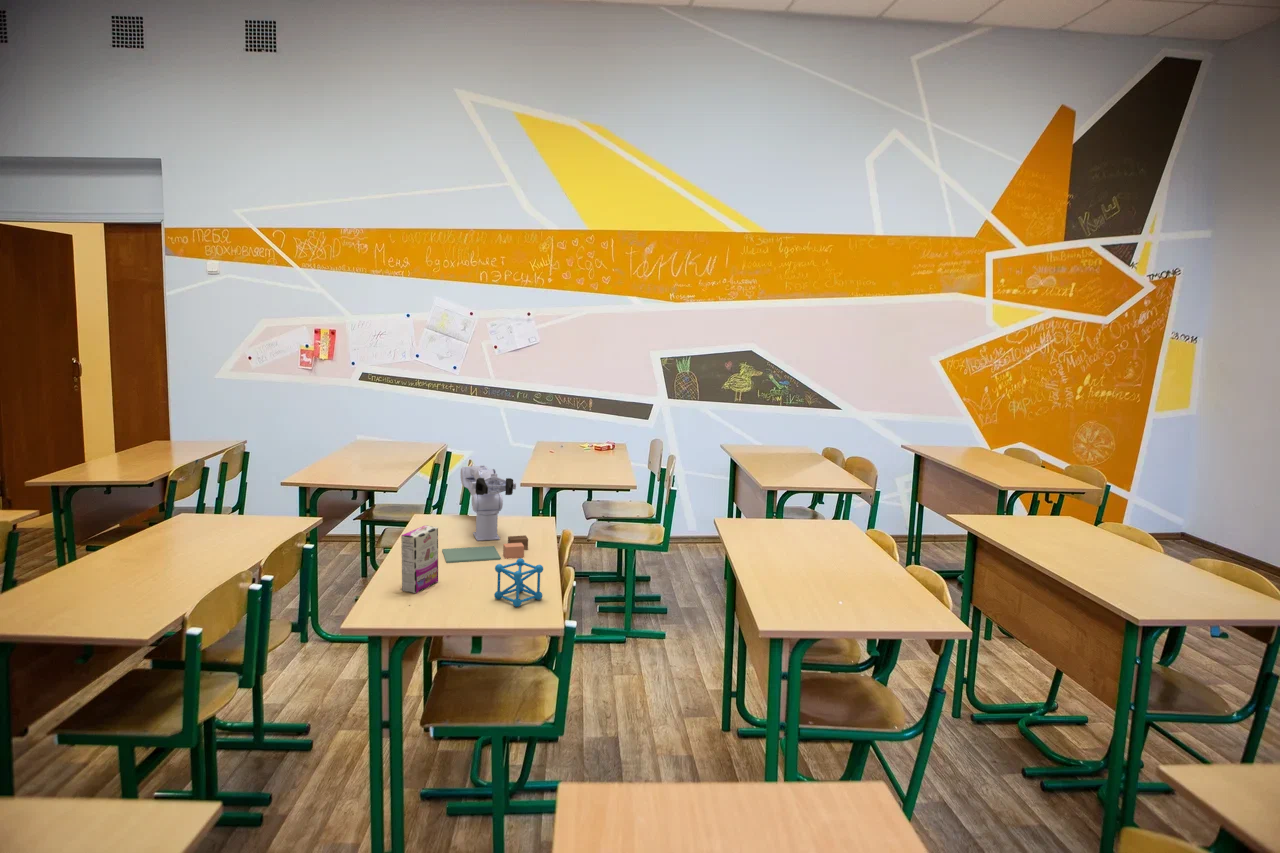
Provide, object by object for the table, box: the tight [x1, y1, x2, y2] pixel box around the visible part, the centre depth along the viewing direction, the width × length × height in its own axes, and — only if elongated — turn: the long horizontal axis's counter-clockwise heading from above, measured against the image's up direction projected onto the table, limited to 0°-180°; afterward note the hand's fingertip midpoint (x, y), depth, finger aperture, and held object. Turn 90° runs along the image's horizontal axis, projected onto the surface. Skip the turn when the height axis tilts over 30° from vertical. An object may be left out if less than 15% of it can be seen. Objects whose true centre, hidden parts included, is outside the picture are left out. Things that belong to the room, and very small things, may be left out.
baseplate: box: [441, 545, 502, 564], centre depth 247 cm, size 13×17×1 cm
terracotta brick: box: [502, 542, 525, 560], centre depth 248 cm, size 4×6×4 cm, turn 111°
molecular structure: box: [493, 558, 544, 608], centre depth 210 cm, size 10×10×10 cm
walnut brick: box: [507, 535, 529, 551], centre depth 256 cm, size 4×6×4 cm, turn 111°
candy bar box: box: [400, 525, 439, 594], centre depth 215 cm, size 11×5×16 cm, turn 161°
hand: (498, 490), depth 247 cm, fingers open, 7 cm apart
